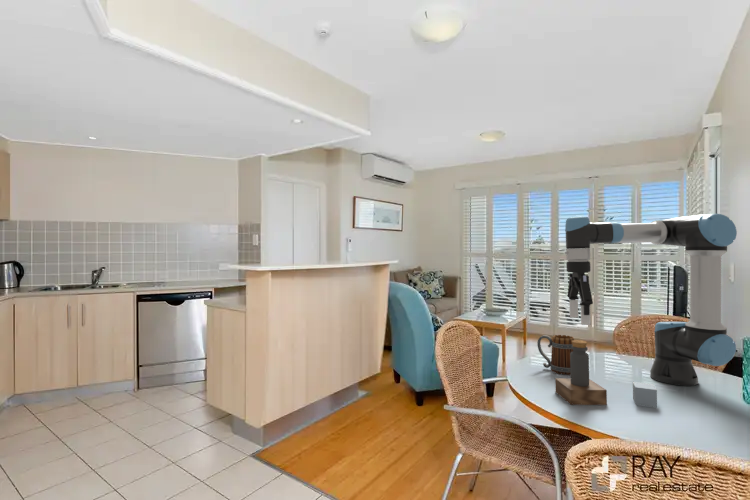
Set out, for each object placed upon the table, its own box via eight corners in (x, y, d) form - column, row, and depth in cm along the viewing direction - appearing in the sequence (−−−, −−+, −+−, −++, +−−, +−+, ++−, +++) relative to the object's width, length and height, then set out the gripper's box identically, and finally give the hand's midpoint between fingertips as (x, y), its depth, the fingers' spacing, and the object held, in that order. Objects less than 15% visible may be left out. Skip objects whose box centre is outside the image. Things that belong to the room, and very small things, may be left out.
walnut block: (588, 391, 144) (588, 378, 144) (606, 404, 132) (606, 389, 132) (555, 392, 144) (555, 378, 144) (570, 404, 132) (570, 390, 132)
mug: (578, 370, 170) (578, 335, 170) (576, 377, 161) (575, 340, 161) (540, 365, 178) (539, 332, 178) (535, 371, 169) (535, 336, 169)
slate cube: (653, 401, 134) (653, 384, 134) (657, 408, 129) (656, 389, 129) (633, 398, 137) (632, 381, 137) (635, 405, 132) (635, 387, 132)
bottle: (591, 387, 135) (591, 343, 135) (573, 386, 136) (572, 343, 136) (586, 381, 140) (585, 339, 140) (568, 380, 142) (567, 339, 142)
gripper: (557, 260, 151) (559, 314, 151) (577, 262, 127) (579, 327, 127) (578, 259, 150) (580, 315, 150) (602, 261, 125) (604, 328, 125)
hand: (579, 320), depth 138 cm, fingers open, 13 cm apart
